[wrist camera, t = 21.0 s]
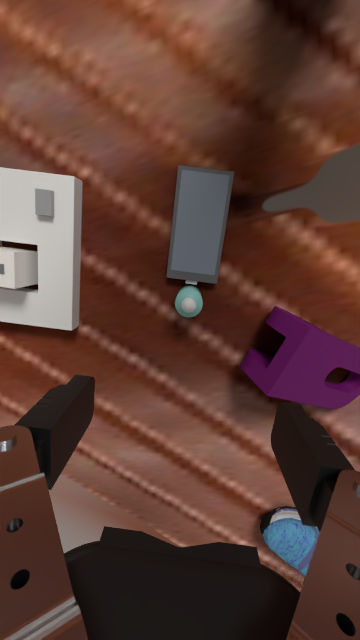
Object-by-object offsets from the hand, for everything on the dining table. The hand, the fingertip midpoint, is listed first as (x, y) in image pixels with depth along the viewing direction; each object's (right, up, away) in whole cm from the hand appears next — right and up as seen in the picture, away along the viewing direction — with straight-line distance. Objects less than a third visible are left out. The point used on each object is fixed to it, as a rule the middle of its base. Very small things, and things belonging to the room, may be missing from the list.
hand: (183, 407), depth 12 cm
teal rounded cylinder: (+1, +7, +27) cm, 28 cm away
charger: (-22, +12, +27) cm, 37 cm away
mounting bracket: (+19, -2, +29) cm, 35 cm away
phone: (+2, +16, +25) cm, 30 cm away
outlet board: (-22, +14, +27) cm, 37 cm away
